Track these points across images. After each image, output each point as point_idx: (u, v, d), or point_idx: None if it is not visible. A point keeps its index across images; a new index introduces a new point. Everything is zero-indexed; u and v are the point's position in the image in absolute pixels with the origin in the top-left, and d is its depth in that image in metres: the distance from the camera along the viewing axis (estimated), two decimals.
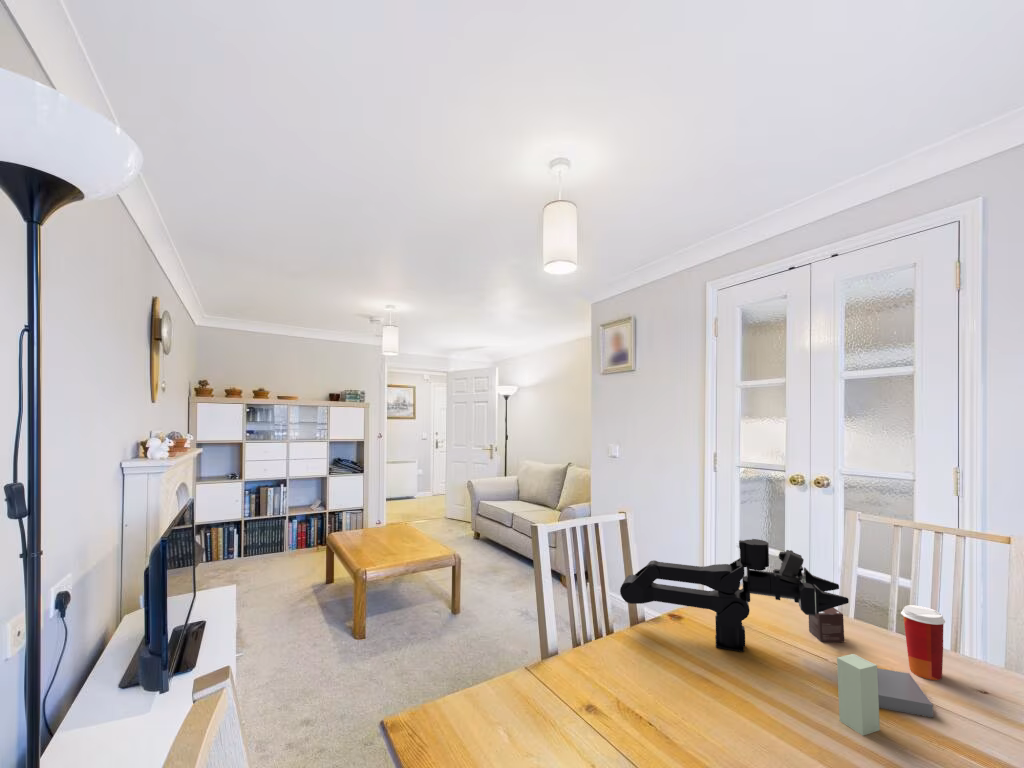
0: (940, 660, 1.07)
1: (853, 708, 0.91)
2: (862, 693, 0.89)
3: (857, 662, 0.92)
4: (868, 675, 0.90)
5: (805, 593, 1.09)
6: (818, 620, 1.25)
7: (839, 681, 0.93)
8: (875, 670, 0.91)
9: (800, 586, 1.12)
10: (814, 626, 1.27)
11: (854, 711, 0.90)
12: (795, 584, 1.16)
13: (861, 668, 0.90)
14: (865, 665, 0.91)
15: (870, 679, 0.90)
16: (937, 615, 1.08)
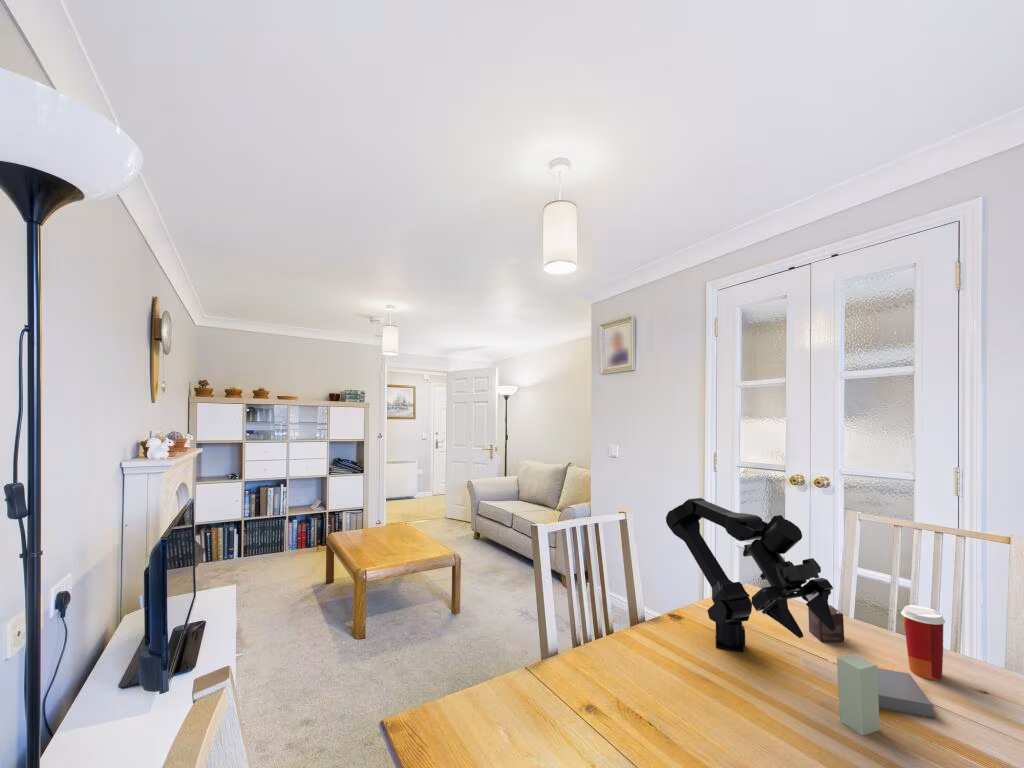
0: (940, 660, 1.07)
1: (853, 708, 0.91)
2: (862, 693, 0.89)
3: (857, 662, 0.92)
4: (868, 675, 0.90)
5: (762, 592, 1.02)
6: (818, 620, 1.25)
7: (839, 681, 0.93)
8: (875, 670, 0.91)
9: (771, 587, 1.03)
10: (814, 626, 1.27)
11: (854, 711, 0.90)
12: (782, 584, 1.06)
13: (860, 668, 0.90)
14: (865, 665, 0.91)
15: (870, 679, 0.90)
16: (937, 615, 1.08)
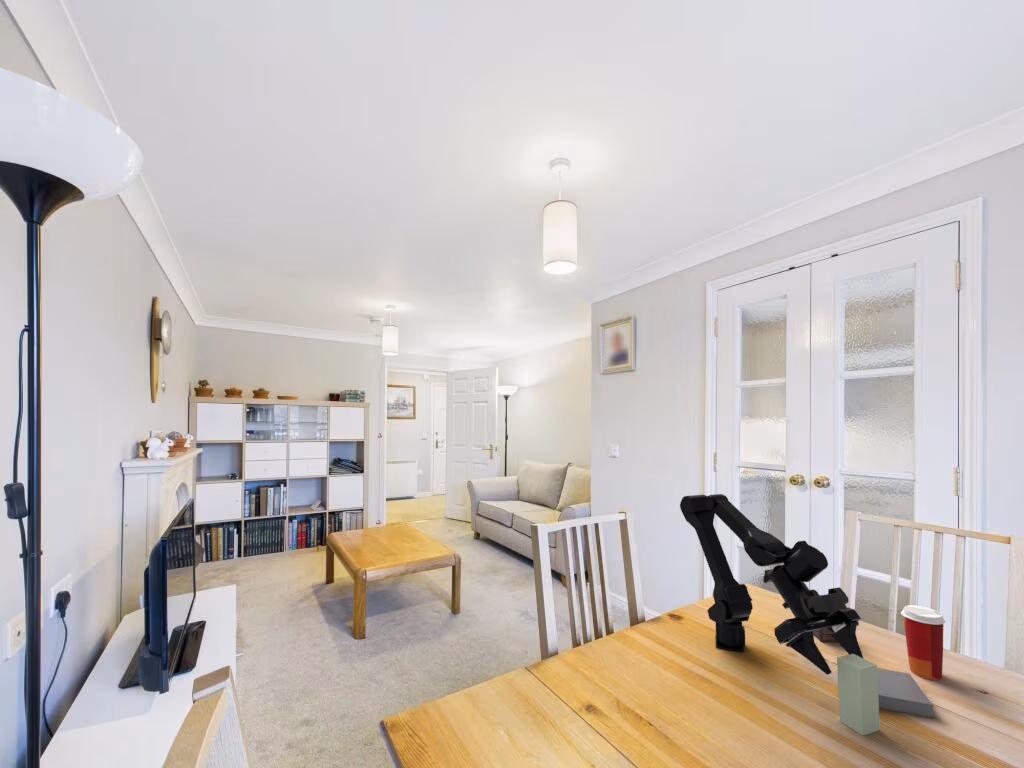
0: (940, 660, 1.07)
1: (853, 708, 0.91)
2: (862, 693, 0.89)
3: (857, 662, 0.92)
4: (868, 675, 0.90)
5: (786, 625, 0.97)
6: None
7: (839, 681, 0.93)
8: (875, 670, 0.91)
9: (796, 618, 0.97)
10: None
11: (854, 711, 0.90)
12: (806, 615, 1.00)
13: (861, 668, 0.90)
14: (865, 665, 0.91)
15: (870, 679, 0.90)
16: (937, 615, 1.08)
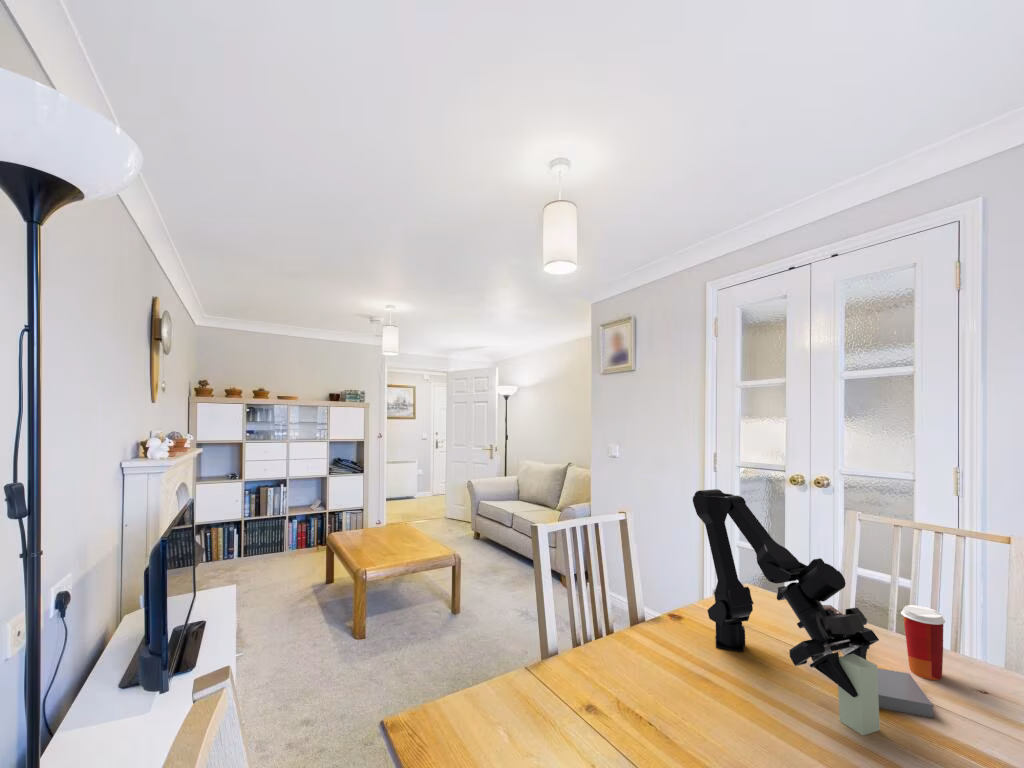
0: (940, 660, 1.07)
1: (853, 708, 0.91)
2: (862, 693, 0.89)
3: (857, 662, 0.92)
4: (868, 675, 0.90)
5: (802, 647, 0.93)
6: None
7: None
8: (875, 670, 0.91)
9: (812, 640, 0.94)
10: None
11: (854, 711, 0.90)
12: (823, 636, 0.96)
13: (861, 668, 0.90)
14: (865, 665, 0.91)
15: (870, 679, 0.90)
16: (937, 615, 1.08)
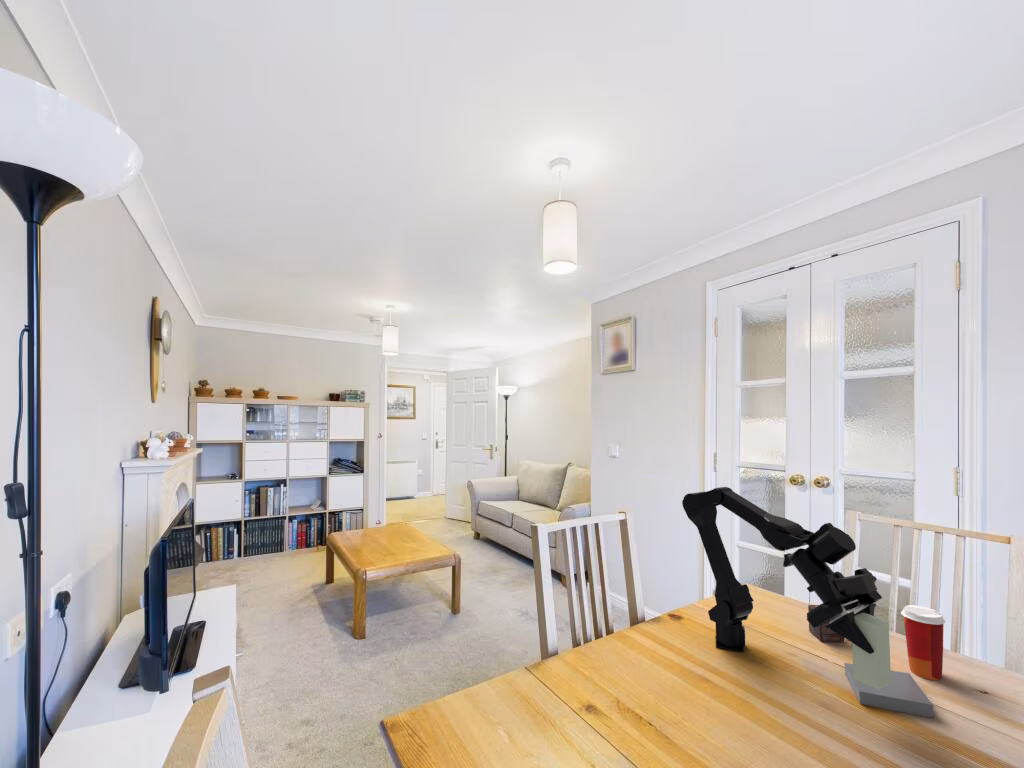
0: (940, 660, 1.07)
1: (868, 664, 0.93)
2: (878, 649, 0.92)
3: (871, 620, 0.95)
4: (882, 632, 0.93)
5: (822, 609, 0.94)
6: None
7: None
8: (887, 626, 0.94)
9: (830, 602, 0.96)
10: None
11: (870, 667, 0.93)
12: (836, 598, 0.99)
13: (876, 624, 0.93)
14: (879, 622, 0.94)
15: (884, 635, 0.93)
16: (937, 615, 1.08)
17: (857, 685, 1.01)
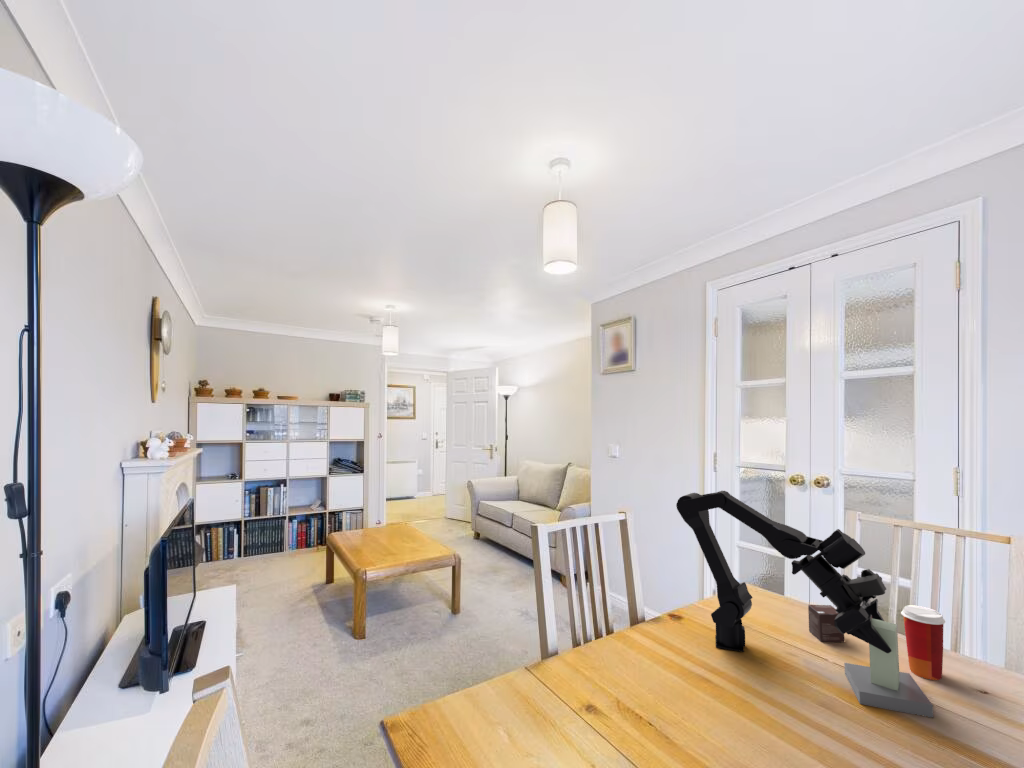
0: (940, 660, 1.07)
1: (886, 668, 1.00)
2: (896, 652, 0.99)
3: (884, 625, 1.02)
4: (896, 635, 1.01)
5: (853, 614, 0.98)
6: (818, 620, 1.25)
7: (871, 646, 1.02)
8: None
9: (855, 606, 1.00)
10: (814, 626, 1.27)
11: (889, 670, 1.00)
12: (852, 601, 1.04)
13: (893, 630, 1.00)
14: (892, 626, 1.01)
15: (896, 638, 1.01)
16: (937, 615, 1.08)
17: (857, 685, 1.01)
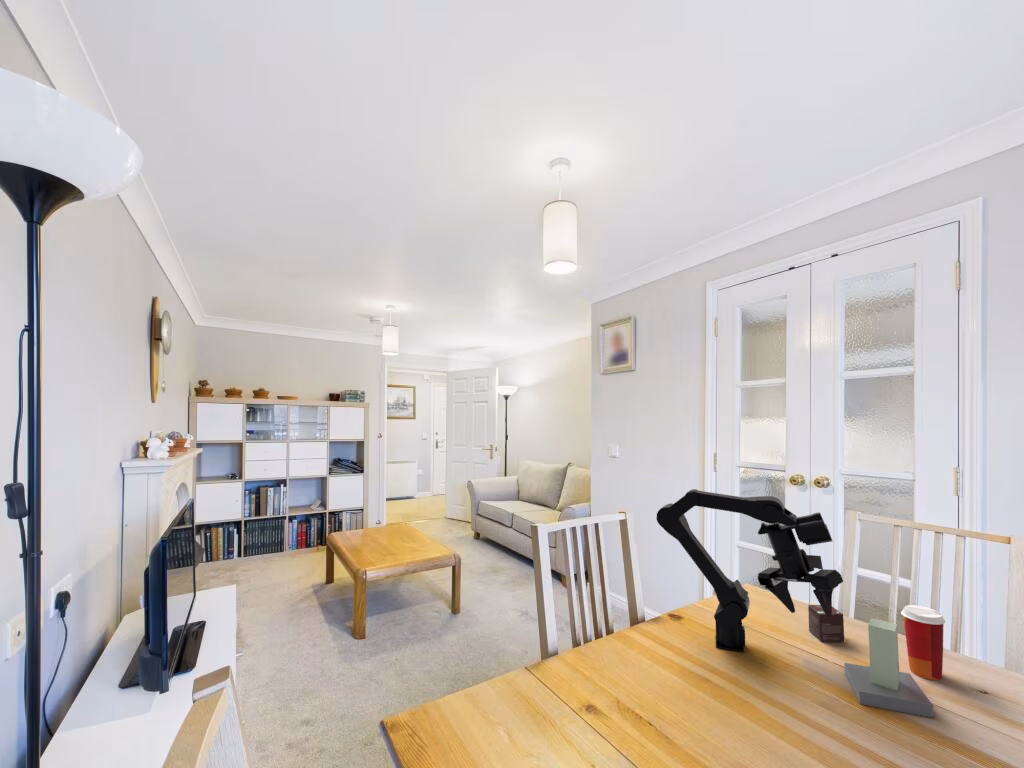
0: (940, 660, 1.07)
1: (886, 668, 1.00)
2: (896, 652, 0.99)
3: (884, 625, 1.02)
4: (896, 635, 1.01)
5: (838, 574, 1.09)
6: (818, 620, 1.25)
7: (871, 646, 1.02)
8: None
9: None
10: (814, 626, 1.27)
11: (889, 670, 1.00)
12: (807, 569, 1.15)
13: (893, 630, 1.00)
14: (892, 626, 1.01)
15: (896, 638, 1.01)
16: (937, 615, 1.08)
17: (857, 685, 1.01)
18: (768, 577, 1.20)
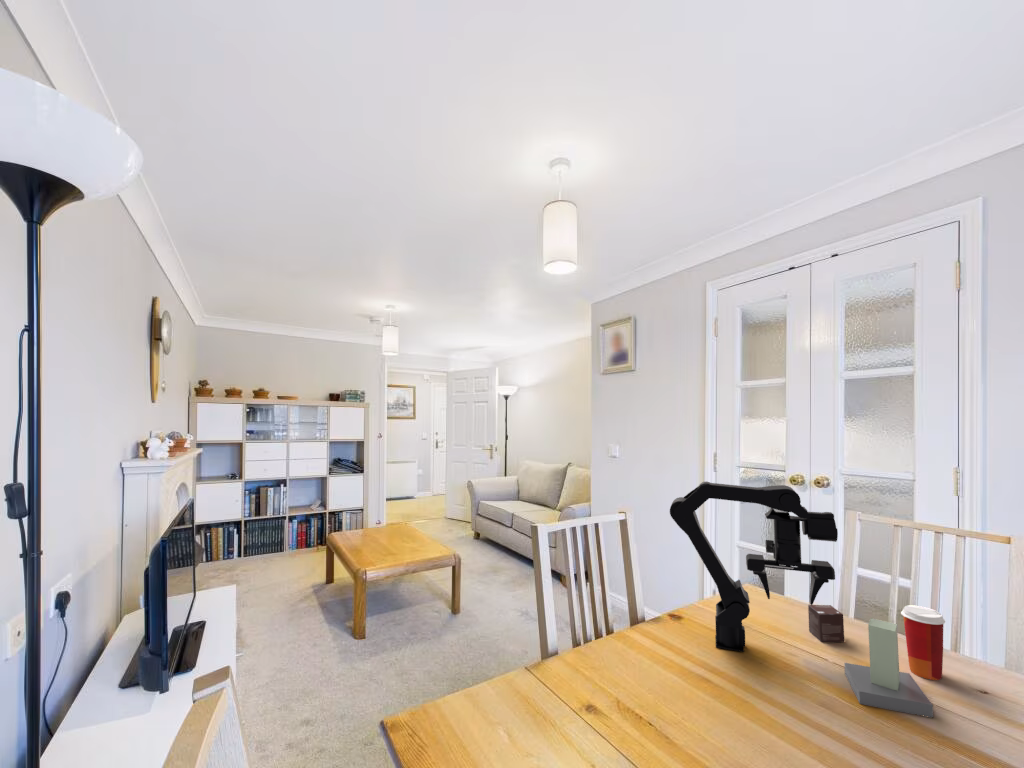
0: (940, 660, 1.07)
1: (886, 668, 1.00)
2: (896, 652, 0.99)
3: (884, 625, 1.02)
4: (896, 635, 1.01)
5: (830, 565, 1.17)
6: (818, 620, 1.25)
7: (871, 646, 1.02)
8: None
9: None
10: (814, 626, 1.27)
11: (889, 670, 1.00)
12: None
13: (893, 630, 1.00)
14: (892, 626, 1.01)
15: (896, 638, 1.01)
16: (937, 615, 1.08)
17: (857, 685, 1.01)
18: (763, 563, 1.19)
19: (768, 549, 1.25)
